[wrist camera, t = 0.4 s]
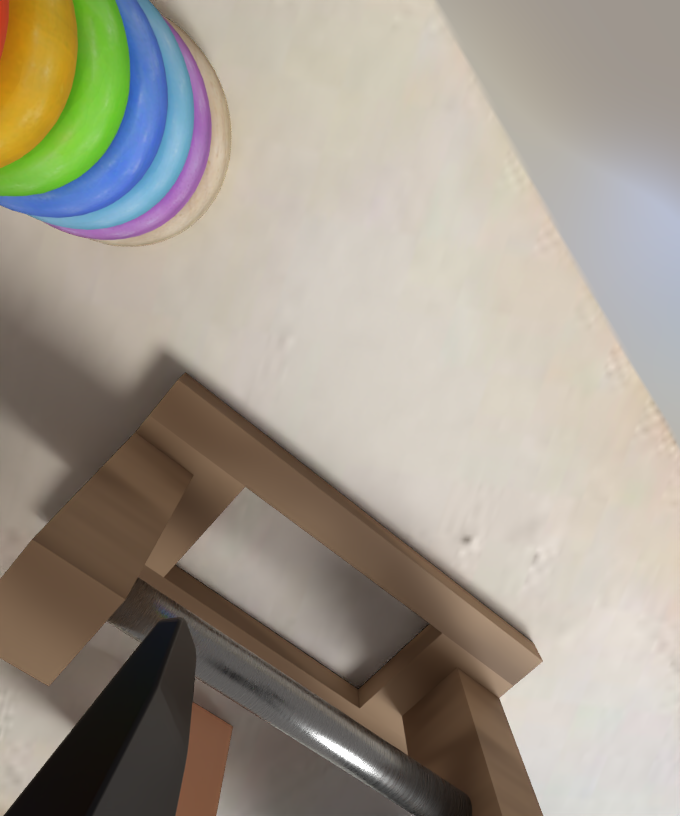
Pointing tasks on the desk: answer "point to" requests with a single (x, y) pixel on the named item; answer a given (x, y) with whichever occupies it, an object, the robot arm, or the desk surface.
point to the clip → (204, 764)
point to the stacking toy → (108, 120)
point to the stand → (256, 644)
